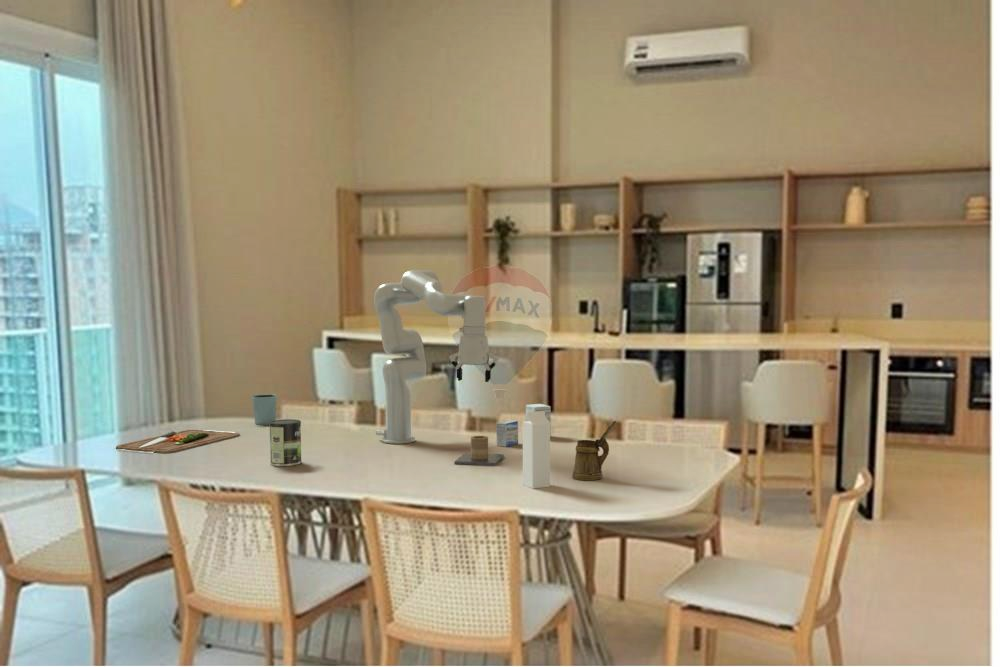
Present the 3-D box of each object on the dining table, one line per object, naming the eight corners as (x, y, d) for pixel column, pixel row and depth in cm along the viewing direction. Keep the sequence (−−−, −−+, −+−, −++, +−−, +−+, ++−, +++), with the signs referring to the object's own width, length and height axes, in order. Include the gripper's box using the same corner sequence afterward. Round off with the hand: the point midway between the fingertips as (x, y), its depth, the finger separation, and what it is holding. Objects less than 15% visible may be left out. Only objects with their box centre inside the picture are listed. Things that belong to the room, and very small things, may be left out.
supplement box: (525, 436, 333) (525, 404, 332) (541, 435, 336) (541, 403, 336) (534, 439, 326) (534, 407, 326) (551, 438, 330) (551, 405, 329)
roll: (469, 459, 285) (469, 438, 285) (473, 455, 291) (473, 435, 291) (486, 459, 284) (486, 438, 284) (489, 456, 290) (489, 436, 290)
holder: (454, 464, 282) (454, 442, 282) (464, 455, 296) (464, 434, 296) (496, 465, 280) (496, 443, 279) (504, 457, 293) (503, 436, 293)
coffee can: (303, 459, 290) (303, 418, 290) (298, 466, 280) (298, 423, 279) (273, 460, 290) (272, 419, 289) (266, 466, 279) (266, 424, 279)
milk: (522, 484, 253) (521, 411, 252) (540, 482, 256) (539, 409, 255) (532, 489, 248) (532, 413, 247) (550, 486, 251) (550, 412, 249)
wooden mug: (613, 482, 255) (613, 423, 254) (569, 479, 260) (569, 420, 259) (618, 476, 264) (619, 418, 263) (576, 473, 268) (576, 416, 267)
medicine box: (505, 447, 312) (505, 423, 311) (496, 445, 315) (496, 422, 314) (518, 444, 318) (518, 420, 318) (509, 442, 321) (508, 419, 320)
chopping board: (163, 456, 299) (163, 448, 299) (106, 451, 309) (106, 443, 309) (247, 435, 341) (247, 427, 341) (194, 431, 351) (193, 424, 351)
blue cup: (281, 422, 370) (281, 394, 370) (266, 425, 361) (265, 397, 361) (263, 420, 375) (262, 393, 374) (247, 424, 365) (246, 396, 365)
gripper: (447, 331, 292) (446, 381, 293) (496, 333, 288) (495, 383, 289) (452, 330, 299) (452, 378, 300) (501, 331, 295) (500, 380, 297)
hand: (473, 380), depth 295 cm, fingers open, 9 cm apart
